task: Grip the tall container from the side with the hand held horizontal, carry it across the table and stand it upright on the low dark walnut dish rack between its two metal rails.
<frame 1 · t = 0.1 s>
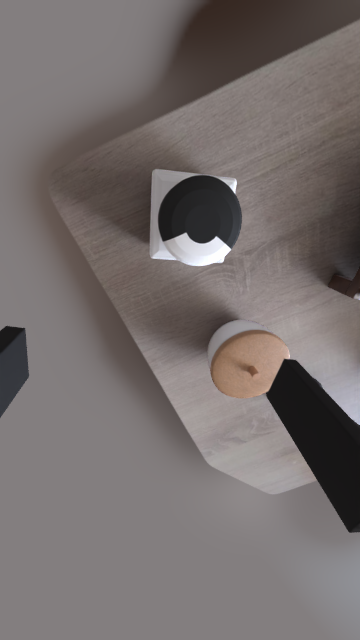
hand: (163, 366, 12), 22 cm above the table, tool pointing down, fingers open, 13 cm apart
trinket box: (232, 338, 38), on the table
container: (181, 216, 29), on the table
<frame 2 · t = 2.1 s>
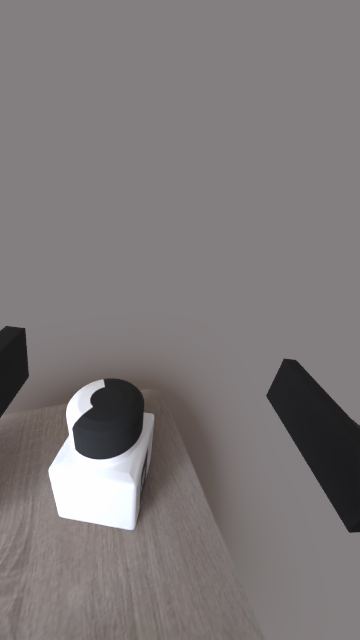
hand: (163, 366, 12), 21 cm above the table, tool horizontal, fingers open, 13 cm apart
container: (110, 484, 26), on the table
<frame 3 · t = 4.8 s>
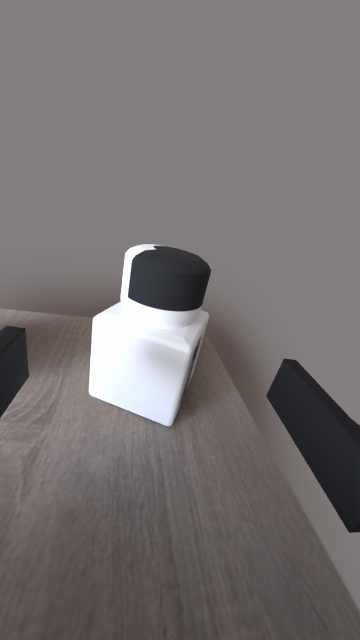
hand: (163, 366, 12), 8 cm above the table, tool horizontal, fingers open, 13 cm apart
container: (145, 386, 23), on the table
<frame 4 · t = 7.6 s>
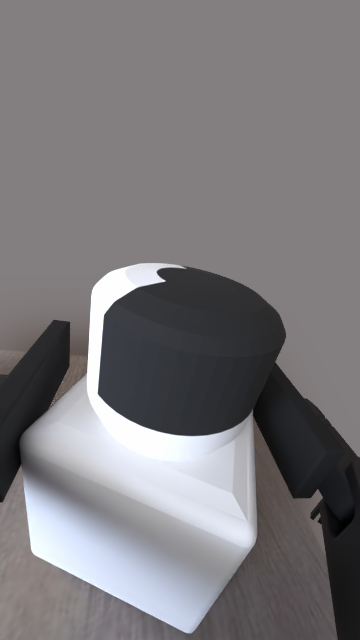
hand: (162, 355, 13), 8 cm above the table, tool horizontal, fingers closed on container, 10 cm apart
container: (141, 501, 13), on the table, touching gripper
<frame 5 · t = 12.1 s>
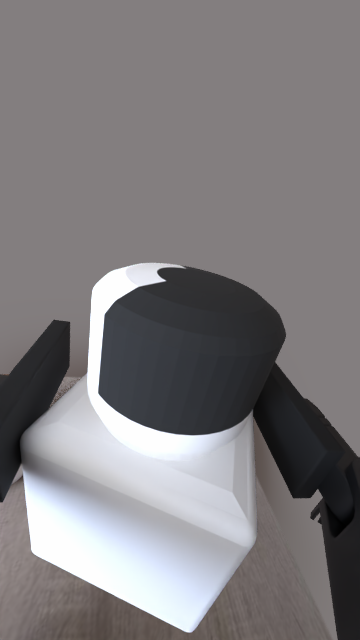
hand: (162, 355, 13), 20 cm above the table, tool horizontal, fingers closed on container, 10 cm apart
container: (141, 500, 13), point 12 cm above the table, touching gripper
when the fingers open (13 cm above the table, at t = 16.9 s): container stays where it is, resting on rack.
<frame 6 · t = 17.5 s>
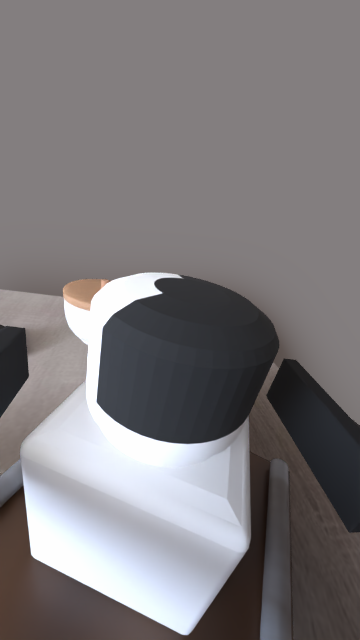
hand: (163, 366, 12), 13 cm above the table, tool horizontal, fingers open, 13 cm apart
trinket box: (100, 337, 37), on the table
rack: (128, 566, 15), on the table
container: (139, 504, 14), point 5 cm above the table, touching rack
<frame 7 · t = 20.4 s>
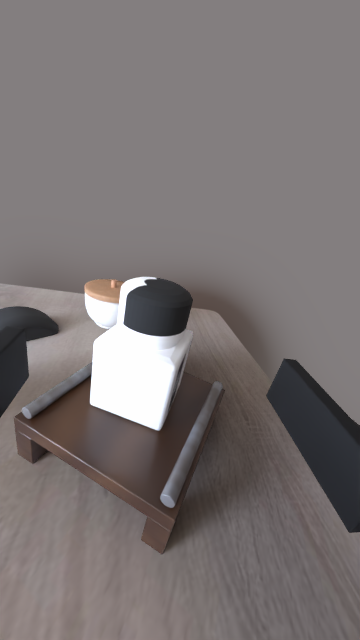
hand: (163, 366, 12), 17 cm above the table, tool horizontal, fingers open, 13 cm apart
trinket box: (110, 322, 50), on the table
rack: (133, 432, 28), on the table
computer mouse: (19, 333, 40), on the table
container: (138, 395, 26), point 5 cm above the table, touching rack
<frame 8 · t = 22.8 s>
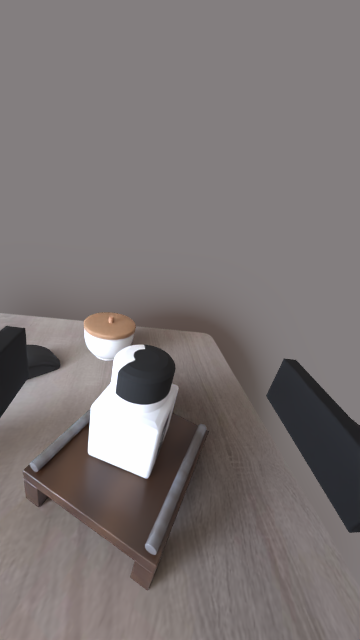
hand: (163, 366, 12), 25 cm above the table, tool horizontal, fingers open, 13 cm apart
trinket box: (107, 353, 54), on the table
rack: (126, 472, 31), on the table
computer mouse: (24, 370, 44), on the table
container: (131, 440, 30), point 5 cm above the table, touching rack
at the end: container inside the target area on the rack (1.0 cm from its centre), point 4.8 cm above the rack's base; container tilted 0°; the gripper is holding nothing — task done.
